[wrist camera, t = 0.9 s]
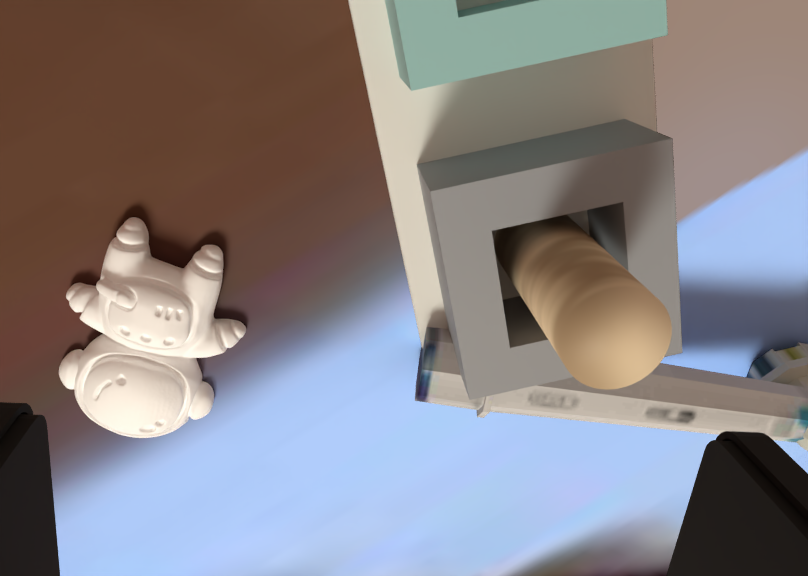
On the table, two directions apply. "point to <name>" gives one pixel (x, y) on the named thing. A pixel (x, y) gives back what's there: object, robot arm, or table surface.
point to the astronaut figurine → (148, 337)
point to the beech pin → (585, 302)
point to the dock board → (485, 124)
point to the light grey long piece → (644, 395)
